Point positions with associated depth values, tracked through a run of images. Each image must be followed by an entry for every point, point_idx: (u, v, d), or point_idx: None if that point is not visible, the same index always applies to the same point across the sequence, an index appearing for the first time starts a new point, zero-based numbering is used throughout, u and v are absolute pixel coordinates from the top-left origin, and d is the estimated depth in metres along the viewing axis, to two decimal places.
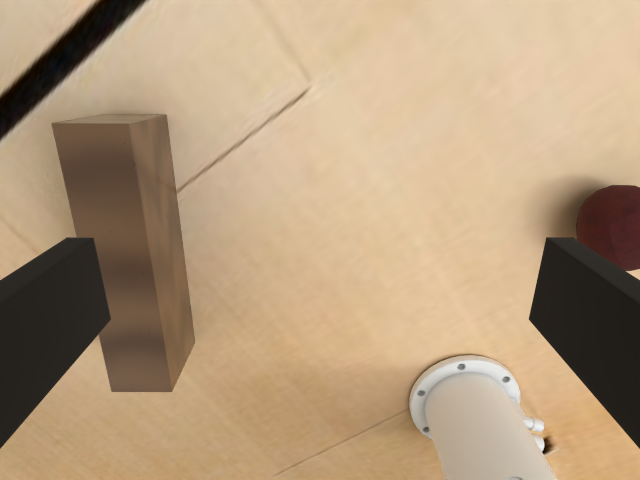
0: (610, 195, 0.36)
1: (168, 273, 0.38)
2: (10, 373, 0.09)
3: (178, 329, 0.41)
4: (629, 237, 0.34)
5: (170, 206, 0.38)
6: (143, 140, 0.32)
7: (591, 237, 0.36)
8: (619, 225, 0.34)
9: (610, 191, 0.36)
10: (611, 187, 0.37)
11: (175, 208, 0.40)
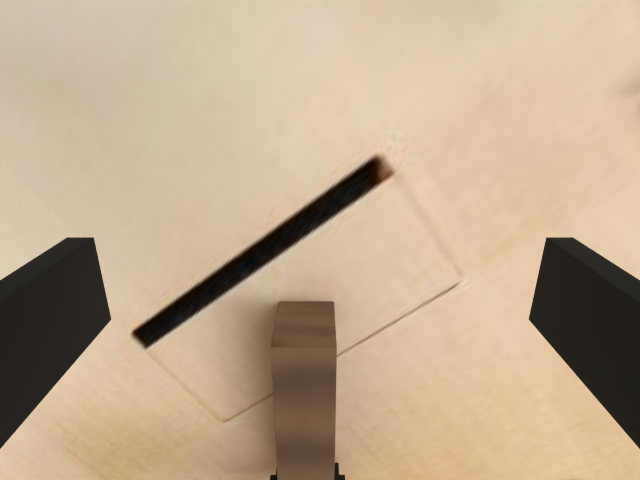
0: None
1: None
2: (9, 373, 0.09)
3: None
4: None
5: None
6: None
7: None
8: None
9: None
10: None
11: None
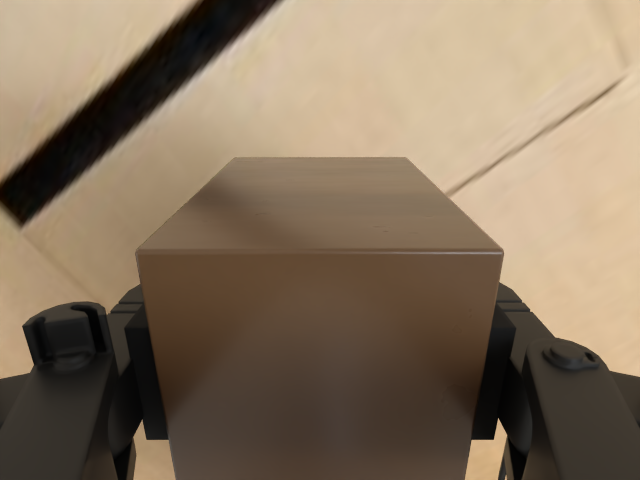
0: None
1: None
2: None
3: None
4: None
5: None
6: None
7: None
8: None
9: None
10: None
11: None
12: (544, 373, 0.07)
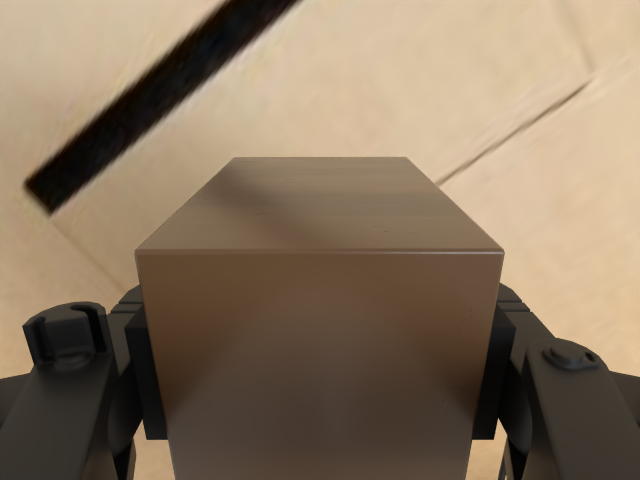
0: None
1: None
2: None
3: None
4: None
5: None
6: None
7: None
8: None
9: None
10: None
11: None
12: (545, 373, 0.07)
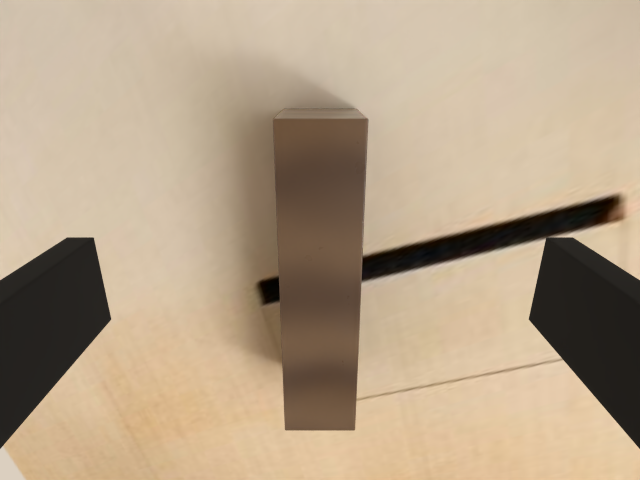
0: None
1: None
2: (9, 373, 0.09)
3: None
4: None
5: None
6: None
7: None
8: None
9: None
10: None
11: None
12: None
